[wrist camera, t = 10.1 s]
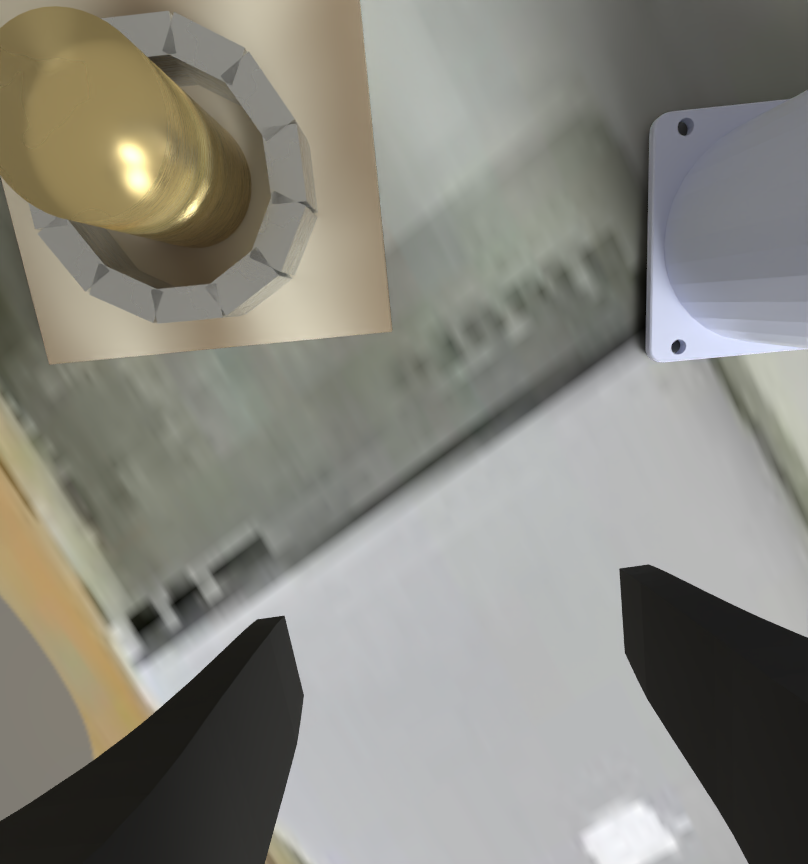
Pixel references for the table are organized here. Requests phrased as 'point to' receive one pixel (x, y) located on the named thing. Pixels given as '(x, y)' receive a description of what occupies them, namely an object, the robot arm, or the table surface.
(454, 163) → the table surface
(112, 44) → the brass knob
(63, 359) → the board
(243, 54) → the pipe sockets
